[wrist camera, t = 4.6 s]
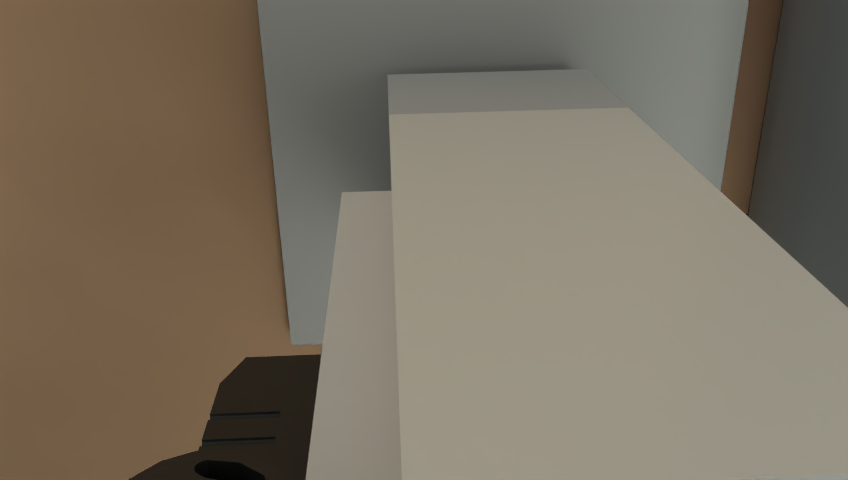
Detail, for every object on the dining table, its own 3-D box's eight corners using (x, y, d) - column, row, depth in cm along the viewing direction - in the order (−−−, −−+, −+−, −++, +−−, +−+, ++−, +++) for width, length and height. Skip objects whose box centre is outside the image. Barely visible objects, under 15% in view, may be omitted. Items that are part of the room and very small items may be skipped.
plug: (393, 255, 18) (415, 871, 7) (387, 74, 16) (401, 494, 5) (574, 249, 18) (886, 841, 7) (586, 68, 16) (1020, 465, 5)
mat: (294, 332, 20) (291, 345, 19) (251, -105, 16) (246, -104, 15) (691, 319, 20) (699, 332, 20) (753, -114, 16) (765, -113, 16)
